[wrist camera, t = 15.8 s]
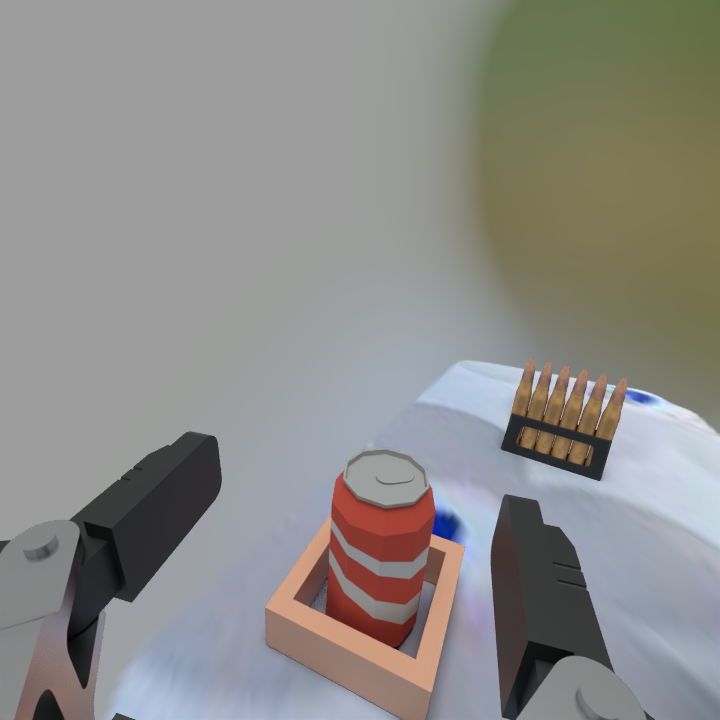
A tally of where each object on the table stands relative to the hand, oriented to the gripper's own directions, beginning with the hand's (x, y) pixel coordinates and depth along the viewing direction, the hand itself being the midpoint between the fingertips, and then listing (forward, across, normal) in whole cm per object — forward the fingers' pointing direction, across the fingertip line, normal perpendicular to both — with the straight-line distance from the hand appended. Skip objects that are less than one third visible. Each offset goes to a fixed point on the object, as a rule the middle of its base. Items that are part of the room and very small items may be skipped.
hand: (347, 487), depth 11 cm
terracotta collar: (+10, 0, +20) cm, 22 cm away
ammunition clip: (+34, -16, +21) cm, 43 cm away
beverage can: (+10, 0, +20) cm, 23 cm away
